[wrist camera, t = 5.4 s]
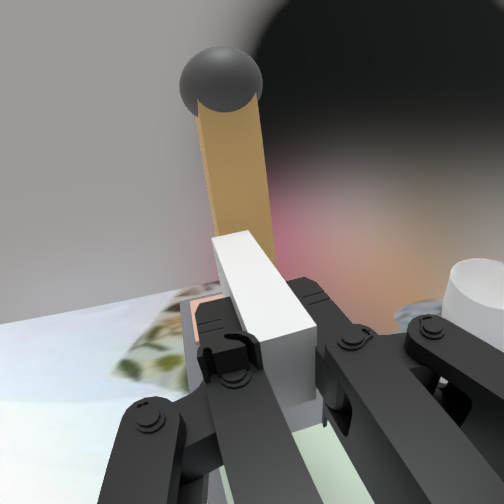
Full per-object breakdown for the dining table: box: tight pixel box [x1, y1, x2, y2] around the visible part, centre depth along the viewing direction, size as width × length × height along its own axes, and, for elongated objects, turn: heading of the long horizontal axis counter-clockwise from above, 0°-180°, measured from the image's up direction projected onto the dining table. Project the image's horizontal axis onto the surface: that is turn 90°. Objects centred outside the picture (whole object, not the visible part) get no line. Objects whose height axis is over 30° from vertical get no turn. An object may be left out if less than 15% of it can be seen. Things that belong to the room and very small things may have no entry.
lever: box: [180, 46, 276, 268], centre depth 15 cm, size 6×4×19 cm, turn 104°
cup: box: [439, 258, 504, 384], centre depth 24 cm, size 9×9×12 cm
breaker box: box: [180, 292, 375, 504], centre depth 22 cm, size 10×24×10 cm, turn 14°
